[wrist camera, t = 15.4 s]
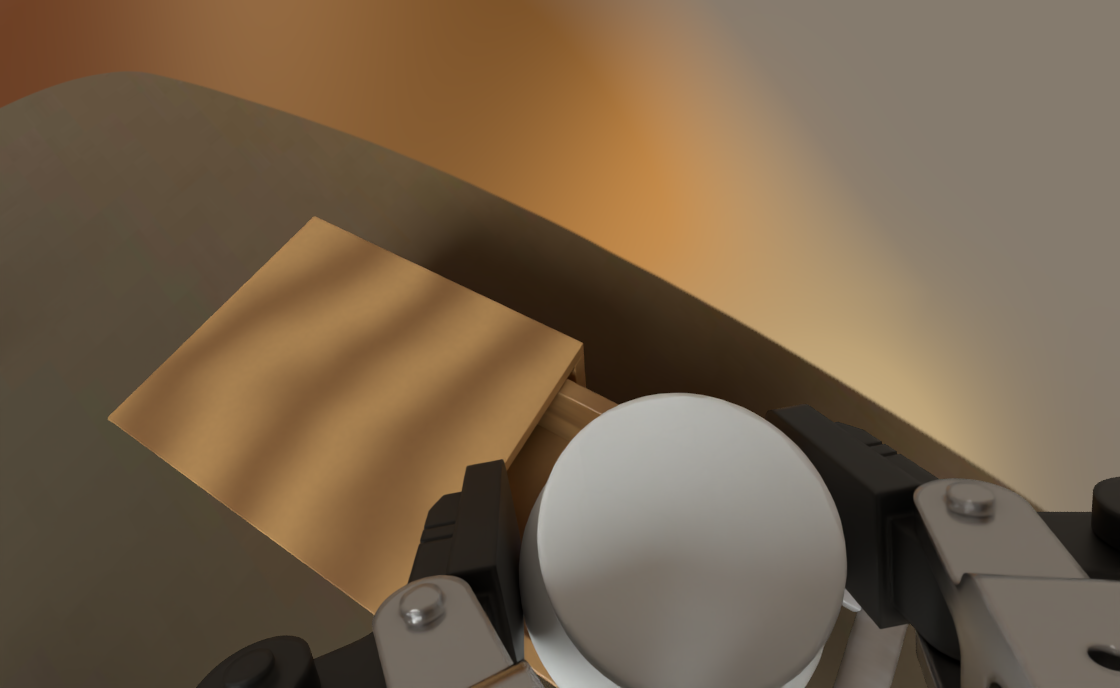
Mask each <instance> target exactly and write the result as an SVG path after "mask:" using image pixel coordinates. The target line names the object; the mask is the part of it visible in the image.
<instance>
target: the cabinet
mask: <svg viewBox="0 0 1120 688" xmlns="http://www.w3.org/2000/svg"><path fill="white" fill-rule="evenodd" d="M566 379H569V380H571V381H573V382H575V383H577V384H579V385H581V386H583V387H585V388H586V380H585V364H584V349H583V343H582V342H580V341H578V340H576V339H573V338H571V337H569V336H567V335H565V334H563V333H561V332H559V331H556V330H554V329H552V328H550V327H548V326H546V325H544V324H542V323H540V322H537V321H535V320H533V319H531V318H529V317H527V316H525V315H523V314H521V313H518V312H516V311H514V310H512V309H510V308H508V307H506V306H504V305H502V304H499V303H497V302H495V301H493V300H491V299H489V298H487V297H485V296H482V295H480V294H478V293H476V292H474V291H472V290H470V289H468V288H466V287H463V286H461V285H459V284H457V283H455V282H453V281H451V280H449V279H447V278H444V277H442V276H440V275H438V274H436V273H434V272H432V271H430V270H428V269H425V268H423V267H421V266H419V265H417V264H415V263H413V262H411V261H408V260H406V259H404V258H402V257H400V256H398V255H396V254H394V253H392V252H389V251H387V250H385V249H383V248H381V247H379V246H377V245H375V244H373V243H370V242H368V241H366V240H364V239H362V238H360V237H358V236H356V235H353V234H351V233H349V232H347V231H345V230H343V229H341V228H339V227H337V226H334V225H332V224H330V223H328V222H326V221H324V220H322V219H320V218H318V217H315V216H314V217H313V218H312V219H311V220H310V221H309V222H308V223H307V224H306V225H305V226H304V227H303V228H302V229H301V230H300V231H299V232H298V233H296V234H295V235H294V236H293V237H292V238H291V239H290V240H289V241H288V242H287V243H286V244H285V245H284V246H283V247H282V248H281V249H280V250H279V251H278V252H277V253H276V254H275V255H274V256H273V257H272V258H271V259H270V260H269V261H268V262H267V263H266V264H265V265H264V266H263V267H262V268H261V269H260V270H259V271H257V272H256V273H255V274H254V275H253V276H252V277H251V278H250V279H249V280H248V281H247V282H246V283H245V284H244V285H243V286H242V287H241V288H240V289H239V290H238V291H237V292H236V293H235V294H234V295H233V296H232V297H231V298H230V299H229V300H228V301H227V302H226V303H225V304H224V305H223V306H222V307H221V308H219V309H218V310H217V311H216V312H215V313H214V314H213V315H212V316H211V317H210V318H209V319H208V320H207V321H206V322H205V323H204V324H203V325H202V326H201V327H200V328H199V329H198V330H197V331H196V332H195V333H194V334H193V335H192V336H191V337H190V338H189V339H188V340H187V341H186V342H185V343H184V344H183V345H181V346H180V347H179V348H178V349H177V350H176V351H175V352H174V353H173V354H172V355H171V356H170V357H169V358H168V359H167V360H166V361H165V362H164V363H163V364H162V365H161V366H160V367H159V368H158V369H157V370H156V371H155V372H154V373H153V374H152V375H151V376H150V377H149V378H148V379H147V380H146V381H145V382H144V383H142V384H141V385H140V386H139V387H138V388H137V389H136V390H135V391H134V392H133V393H132V394H131V395H130V396H129V397H128V398H127V399H126V400H125V401H124V402H123V403H122V404H121V405H120V406H119V407H118V408H117V409H116V410H115V411H114V412H113V413H112V414H111V415H110V416H109V417H108V419H109V420H110V421H111V422H113V423H114V424H115V425H117V426H118V427H120V428H121V429H122V430H124V431H125V432H126V433H128V434H129V435H130V436H132V437H133V438H134V439H136V440H137V441H139V442H140V443H141V444H143V445H144V446H145V447H147V448H148V449H149V450H151V451H152V452H154V453H155V454H156V455H158V456H159V457H160V458H162V459H163V460H164V461H166V462H167V463H168V464H170V465H171V466H173V467H174V468H175V469H177V470H178V471H179V472H181V473H182V474H183V475H185V476H186V477H188V478H189V479H190V480H192V481H193V482H194V483H196V484H197V485H198V486H200V487H201V488H202V489H204V490H205V491H207V492H208V493H209V494H211V495H212V496H213V497H215V498H216V499H217V500H219V501H220V502H221V503H223V504H224V505H226V506H227V507H228V508H230V509H231V510H232V511H234V512H235V513H236V514H238V515H239V516H241V517H242V518H243V519H245V520H246V521H247V522H249V523H250V524H251V525H253V526H254V527H255V528H257V529H258V530H260V531H261V532H262V533H264V534H265V535H266V536H268V537H269V538H270V539H272V540H273V541H275V542H276V543H277V544H279V545H280V546H281V547H283V548H284V549H285V550H287V551H288V552H289V553H291V554H292V555H294V556H295V557H296V558H298V559H299V560H300V561H302V562H303V563H304V564H306V565H307V566H308V567H310V568H311V569H313V570H314V571H315V572H317V573H318V574H319V575H321V576H322V577H323V578H325V579H326V580H328V581H329V582H330V583H332V584H333V585H334V586H336V587H337V588H338V589H340V590H341V591H342V592H344V593H345V594H347V595H348V596H349V597H351V598H352V599H353V600H355V601H356V602H357V603H359V604H360V605H361V606H363V607H364V608H366V609H367V610H368V611H370V612H371V613H372V614H374V615H375V613H376V611H377V609H378V608H379V606H380V605H381V604H382V603H383V601H384V600H385V599H386V598H388V597H389V596H390V595H391V594H392V593H394V592H395V591H396V590H398V589H400V588H401V587H403V586H405V585H407V584H408V580H409V577H410V573H411V570H412V566H413V563H414V559H415V556H416V553H417V549H418V546H419V544H420V539H421V535H422V532H423V530H424V525H425V522H426V518H427V515H428V511H429V510H430V509H431V508H432V507H433V505H434V504H435V503H436V502H437V501H438V500H439V499H440V498H441V497H442V496H443V495H445V494H451V493H456V492H461V491H462V486H463V480H464V475H465V470H466V466H468V465H473V464H479V463H484V462H490V461H495V460H500V459H503V460H504V463H505V466H506V470H508V469H509V467H510V465H511V464H512V462H513V461H514V459H515V458H516V456H517V455H518V453H519V452H520V450H521V448H522V447H523V445H524V444H525V442H526V441H527V439H528V438H529V436H530V435H531V433H532V431H533V430H534V428H535V427H536V425H537V424H538V422H539V421H540V419H541V418H542V416H543V414H544V413H545V411H546V410H547V408H548V407H549V405H550V404H551V402H552V401H553V399H554V397H555V396H556V394H557V393H558V391H559V390H560V388H561V387H562V385H563V384H564V382H565V380H566Z"/></svg>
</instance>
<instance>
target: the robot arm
mask: <svg viewBox="0 0 1120 688" xmlns="http://www.w3.org/2000/svg"><path fill="white" fill-rule="evenodd" d="M765 420H767V421H768V422H770V423H771V424H772V425H774V426H775V427H777V428H778V429H779V430H781V431H782V432H783V433H784V434H785V435H786V436H788V437H789V438H790V439H791V440H792V441H793V442H794V443H795V444H796V445H797V446H798V447H799V448H800V449H801V450H802V451H803V452H804V454H805V455H806V456H807V457H808V459H809V460H810V461H811V463H812V464H813V465H814V467H815V468H816V470H817V471H818V472H819V474H820V476H821V477H822V479H823V481H824V483H825V485H826V486H827V488H828V490H829V492H830V494H831V496H832V498H833V500H834V503H835V505H836V508H837V511H838V514H839V517H840V520H841V524H842V529H843V534H844V539H845V546H846V557H847V577H846V584H845V589H846V590H847V591H848V592H849V593H850V594H851V596H852V597H853V598H854V599H855V600H856V602H857V603H858V604H859V605H860V606H861V607H862V609H863V610H864V611H865V612H866V613H867V614H868V616H869V617H870V618H871V619H872V620H873V621H874V623H875V624H876V625H877V626H878V627H879V628H880V629H885V628H890V627H895V626H900V625H905V624H911V625H912V626H913V627H914V628H915V629H916V653H917V658H918V661H919V664H920V667H921V670H922V673H923V676H924V679H925V682H926V685H927V688H1120V477H1115V478H1110V479H1106V480H1103V481H1101V482H1099V483H1098V484H1097V485H1095V487H1094V489H1093V501H1092V512H1036V511H1035V510H1034V509H1033V508H1032V506H1031V505H1030V504H1029V503H1028V502H1027V501H1026V500H1025V499H1024V498H1023V497H1021V496H1020V495H1018V494H1016V493H1015V492H1013V491H1011V490H1009V489H1006V488H1004V487H1001V486H998V485H995V484H991V483H987V482H983V481H977V480H970V479H956V478H954V479H938V478H937V477H935V476H934V475H932V474H931V473H929V472H927V471H926V470H924V469H923V468H921V467H920V466H918V465H917V464H915V463H914V462H912V461H911V460H909V459H907V458H906V457H904V456H903V455H901V454H897V451H895V450H894V449H892V448H891V447H889V446H888V445H886V444H882V442H881V441H880V440H878V439H877V438H875V437H874V436H872V435H871V434H869V433H868V432H866V431H865V430H862V429H859V428H856V427H853V426H850V425H846V424H843V423H840V422H835V423H834V422H832V421H831V420H829V419H828V418H827V417H825V416H824V415H822V414H821V413H819V412H818V411H816V410H815V409H813V408H812V407H811V406H809V405H807V404H800V405H795V406H790V407H784V408H779V409H773V410H769V411H767V413H766V416H765ZM520 551H521V539H520V533H519V528H518V523H517V518H516V513H515V509H514V504H513V499H512V494H511V489H510V485H509V480H508V475H507V470H506V466H505V463H504V460H503V459H500V460H495V461H490V462H484V463H479V464H473V465H468V466H466V470H465V475H464V480H463V486H462V491H461V492H456V493H451V494H445V495H443V496H442V497H441V498H440V499H439V500H438V501H437V502H436V503H435V504H434V505H433V507H432V508H431V509H430V510H429V511H428V515H427V518H426V522H425V525H424V530H423V532H422V535H421V539H420V544H419V546H418V549H417V553H416V556H415V559H414V563H413V566H412V570H411V573H410V577H409V580H408V584H407V585H405V586H403V587H401V588H400V589H398V590H396V591H395V592H394V593H392V594H391V595H390V596H389V597H388V598H386V599H385V600H384V601H383V603H382V604H381V605H380V606H379V608H378V609H377V611H376V613H375V615H374V617H373V622H372V628H373V632H372V633H370V634H369V635H367V636H365V637H363V638H362V639H360V640H358V641H355V642H353V643H351V644H349V645H346V646H344V647H342V648H339V649H337V650H335V651H332V652H330V653H327V654H325V655H323V656H320V657H318V658H316V659H313V657H312V653H311V650H310V648H309V646H308V643H307V642H306V641H304V640H303V639H301V638H299V637H295V636H276V637H272V638H268V639H264V640H261V641H258V642H256V643H254V644H251V645H249V646H247V647H245V648H243V649H241V650H239V651H238V652H236V653H234V654H233V655H231V656H230V657H228V658H227V659H225V660H224V661H223V662H221V663H220V664H219V665H218V666H216V667H215V668H214V669H213V670H212V671H211V672H210V673H209V674H208V675H207V676H206V677H205V678H204V679H203V680H202V681H201V683H200V684H199V685H198V686H197V687H196V688H544V687H543V685H542V683H541V682H540V680H539V678H538V677H537V675H536V673H535V672H534V670H533V669H532V667H531V666H530V664H529V663H528V662H527V661H526V660H525V659H524V614H523V609H522V605H521V598H520V590H519V560H520Z"/></svg>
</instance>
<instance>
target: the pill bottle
mask: <svg viewBox="0 0 1120 688" xmlns="http://www.w3.org/2000/svg"><path fill="white" fill-rule="evenodd" d="M846 577H847V557H846V546H845V539H844V534H843V529H842V524H841V520H840V517H839V514H838V511H837V508H836V505H835V503H834V500H833V498H832V496H831V494H830V492H829V490H828V488H827V486H826V485H825V483H824V481H823V479H822V477H821V476H820V474H819V472H818V471H817V470H816V468H815V467H814V465H813V464H812V463H811V461H810V460H809V459H808V457H807V456H806V455H805V454H804V452H803V451H802V450H801V449H800V448H799V447H798V446H797V445H796V444H795V443H794V442H793V441H792V440H791V439H790V438H789V437H788V436H786V435H785V434H784V433H783V432H782V431H781V430H779V429H778V428H777V427H775V426H774V425H772V424H771V423H770V422H768V421H767V420H765V419H763V418H762V417H760V416H759V415H757V414H755V413H754V412H752V411H750V410H748V409H746V408H743V407H741V406H738V405H736V404H733V403H730V402H727V401H724V400H722V399H718V398H714V397H710V396H705V395H700V394H691V393H663V394H655V395H649V396H644V397H640V398H637V399H634V400H631V401H628V402H625V403H622V404H620V405H618V406H616V407H614V408H612V409H610V410H608V411H606V412H604V413H603V414H601V415H600V416H598V417H597V418H596V419H594V420H593V421H591V422H590V423H589V424H588V425H586V426H585V427H584V428H583V429H582V430H581V431H580V432H579V433H578V434H577V435H576V436H575V437H574V438H573V439H572V440H571V441H570V443H569V444H568V445H567V447H566V448H565V449H564V451H563V452H562V453H561V455H560V457H559V458H558V460H557V461H556V463H555V465H554V467H553V469H552V471H551V474H550V476H549V478H548V480H547V483H546V484H545V486H544V487H543V489H542V490H541V492H540V494H539V496H538V498H537V500H536V502H535V504H534V506H533V508H532V510H531V513H530V515H529V518H528V521H527V524H526V526H525V530H524V534H523V539H522V544H521V551H520V560H519V590H520V598H521V605H522V609H523V614H524V618H525V623H526V626H527V629H528V632H529V635H530V638H531V641H532V643H533V645H534V648H535V650H536V652H537V654H538V656H539V658H540V660H541V662H542V664H543V665H544V667H545V669H546V670H547V672H548V673H549V675H550V676H551V678H552V679H553V680H554V682H555V683H556V684H557V686H558V687H559V688H805V686H806V685H807V683H808V682H809V680H810V678H811V676H812V674H813V673H814V671H815V669H816V667H817V665H818V663H819V660H820V658H821V654H822V651H823V648H824V644H825V643H826V642H827V640H828V638H829V636H830V634H831V632H832V630H833V628H834V625H835V623H836V620H837V618H838V615H839V613H840V609H841V605H842V602H843V598H844V592H845V584H846Z"/></svg>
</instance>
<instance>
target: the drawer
mask: <svg viewBox="0 0 1120 688" xmlns="http://www.w3.org/2000/svg"><path fill="white" fill-rule="evenodd" d="M618 405H619V404H617V403H615V402H613V401H611V400H609V399H607V398H605V397H603V396H601V395H599V394H597V393H595V392H593V391H591V390H589V389H587V388H585V387H583V386H581V385H579V384H577V383H575V382H573V381H571V380H569V379H566V380H565V382H564V384H563V385H562V387H561V388H560V390H559V391H558V393H557V394H556V396H555V397H554V399H553V401H552V402H551V404H550V405H549V407H548V408H547V410H546V411H545V413H544V414H543V416H542V418H541V419H540V421H539V422H538V424H537V425H536V427H535V428H534V430H533V431H532V433H531V435H530V436H529V438H528V439H527V441H526V442H525V444H524V445H523V447H522V448H521V450H520V452H519V453H518V455H517V456H516V458H515V459H514V461H513V462H512V464H511V465H510V467H509V469H508V470H507V475H508V480H509V485H510V489H511V494H512V499H513V504H514V509H515V513H516V518H517V523H518V528H519V533H520V539H521V544H522V539H523V534H524V530H525V526H526V524H527V521H528V518H529V515H530V513H531V510H532V508H533V506H534V504H535V502H536V500H537V498H538V496H539V494H540V492H541V490H542V489H543V487H544V486H545V484H546V483H547V480H548V478H549V476H550V474H551V471H552V469H553V467H554V465H555V463H556V461H557V460H558V458H559V457H560V455H561V453H562V452H563V451H564V449H565V448H566V447H567V445H568V444H569V443H570V441H571V440H572V439H573V438H574V437H575V436H576V435H577V434H578V433H579V432H580V431H581V430H582V429H583V428H584V427H585V426H586V425H588V424H589V423H590V422H591V421H593V420H594V419H596V418H597V417H598V416H600V415H601V414H603V413H604V412H606V411H608V410H610V409H612V408H614V407H616V406H618ZM842 606H844V607H846V608H848V609H849V610H851V611H853V612H857V614H856V617H855V620H854V623H853V626H852V629H851V633H850V636H849V639H848V642H847V645H846V648H845V652H844V655H843V658H842V661H841V664H840V667H839V670H838V674H837V677H836V680H835V683H834V686H833V688H891V684H892V681H893V677H894V673H895V670H896V666H897V663H898V659H899V655H900V652H901V648H902V645H903V641H904V637H905V634H906V630H907V626H908V624H905V625H900V626H895V627H890V628H885V629H880V628H879V627H878V626H877V625H876V624H875V623H874V621H873V620H872V619H871V618H870V617H869V616H868V614H867V613H866V612H865V611H864V610H863V609H862V607H861V606H860V605H859V604H858V603H857V602H856V600H855V599H854V598H853V597H852V596H851V594H850V593H849V592H848V591H847V590H846V589H845V592H844V598H843V602H842ZM524 659H525V660H526V661H527V662H528V663H529V664H530V666H531V667H532V669H533V670H534V672H535V673H536V674H538V675H539V676H541V677H542V678H543V679H545V680H546V681H548V682H549V683H551V684H552V685H553V686H555V687H556V688H559V687H558V686H557V684H556V683H555V682H554V680H553V679H552V678H551V676H550V675H549V673H548V672H547V670H546V669H545V667H544V665H543V664H542V662H541V660H540V658H539V656H538V654H537V652H536V650H535V648H534V645H533V643H532V641H531V638H530V635H529V632H528V629H527V626H526V623H525V618H524Z"/></svg>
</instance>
